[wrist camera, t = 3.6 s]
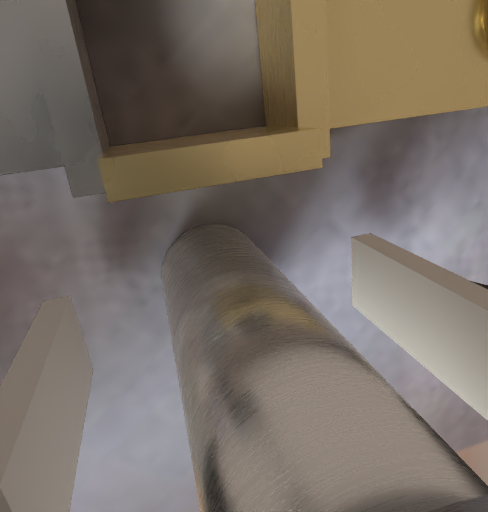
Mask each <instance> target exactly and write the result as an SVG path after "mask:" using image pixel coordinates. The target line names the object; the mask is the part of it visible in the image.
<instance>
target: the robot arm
mask: <svg viewBox="0 0 488 512" xmlns="http://www.w3.org/2000/svg"><path fill="white" fill-rule="evenodd" d="M351 242H352V305H353V306H354V307H355V308H356V309H357V310H358V311H360V312H361V313H362V314H363V315H364V316H365V317H367V318H368V319H369V320H370V321H371V322H373V323H374V324H375V325H376V326H377V327H378V328H380V329H381V330H382V331H383V332H384V333H385V334H387V335H388V336H389V337H390V338H391V339H392V340H394V341H395V342H396V343H397V344H398V345H400V346H401V347H402V348H403V349H404V350H405V351H407V352H408V353H409V354H410V355H411V356H412V357H414V358H415V359H416V360H417V361H418V362H419V363H421V364H422V365H423V366H424V367H425V368H426V369H428V370H429V371H430V372H431V373H432V374H434V375H435V376H436V377H437V378H438V379H439V380H441V381H442V382H443V383H444V384H445V385H446V386H448V387H449V388H450V389H451V390H452V391H453V392H455V393H456V394H457V395H458V396H459V397H461V398H462V399H463V400H464V401H465V402H466V403H468V404H469V405H470V406H471V407H472V408H473V409H475V410H476V411H477V412H478V413H479V414H480V415H482V416H483V417H484V418H485V419H486V420H488V285H484V284H480V283H476V282H472V281H469V280H467V279H465V278H463V277H461V276H459V275H457V274H455V273H452V272H450V271H448V270H446V269H444V268H442V267H440V266H438V265H436V264H434V263H432V262H430V261H427V260H425V259H423V258H421V257H419V256H417V255H415V254H413V253H411V252H409V251H407V250H405V249H402V248H400V247H398V246H396V245H394V244H392V243H390V242H388V241H386V240H384V239H382V238H380V237H377V236H375V235H373V234H371V233H369V234H364V235H360V236H355V237H351ZM92 373H93V367H92V364H91V361H90V358H89V355H88V352H87V348H86V345H85V342H84V339H83V336H82V332H81V329H80V326H79V323H78V320H77V317H76V313H75V310H74V307H73V304H72V301H71V297H70V296H66V297H61V298H56V299H51V300H47V301H43V302H42V304H41V306H40V308H39V310H38V312H37V314H36V316H35V318H34V320H33V322H32V324H31V326H30V328H29V330H28V332H27V334H26V336H25V338H24V340H23V342H22V344H21V346H20V348H19V350H18V352H17V354H16V356H15V358H14V360H13V362H12V364H11V366H10V368H9V370H8V372H7V374H6V376H5V377H4V379H3V381H2V383H1V385H0V512H69V511H70V505H71V499H72V493H73V487H74V481H75V475H76V469H77V463H78V457H79V451H80V445H81V439H82V433H83V427H84V421H85V415H86V409H87V403H88V397H89V391H90V385H91V379H92Z"/></svg>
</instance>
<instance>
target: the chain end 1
mask: <svg viewBox="0 0 488 512" xmlns="http://www.w3.org/2000/svg"><path fill="white" fill-rule="evenodd" d="M109 147H110V146H109V142H108V138H107V133H106V129H105V125H104V120H103V116H102V112H101V108H100V103H99V99H98V95H97V91H96V86H95V82H94V78H93V73H92V69H91V65H90V61H89V56H88V52H87V48H86V44H85V39H84V35H83V31H82V27H81V22H80V18H79V14H78V9H77V5H76V1H75V0H0V175H6V174H13V173H20V172H27V171H34V170H41V169H48V168H55V167H62V166H64V167H65V171H66V174H67V178H68V181H69V185H70V188H71V192H72V196H73V198H75V197H82V196H88V195H94V194H101V193H106V191H105V187H104V183H103V179H102V175H101V171H100V167H99V163H98V159H99V158H100V156H101V155H102V154H103V153H104V152H105V151H106V150H107V149H108V148H109Z"/></svg>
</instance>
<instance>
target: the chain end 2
mask: <svg viewBox="0 0 488 512" xmlns="http://www.w3.org/2000/svg"><path fill="white" fill-rule="evenodd" d="M255 7H256V18H257V29H258V41H259V52H260V64H261V75H262V86H263V98H264V109H265V121H266V126H260V127H253V128H245V129H238V130H230V131H223V132H215V133H208V134H201V135H193V136H186V137H178V138H171V139H163V140H156V141H149V142H141V143H134V144H126V145H119V146H111V147H109V148H108V149H107V150H106V151H105V152H104V153H103V154H102V155H101V156H100V158H99V159H98V163H99V167H100V171H101V175H102V179H103V183H104V187H105V191H106V195H107V199H108V203H109V202H116V201H122V200H128V199H134V198H140V197H146V196H152V195H158V194H165V193H171V192H177V191H183V190H189V189H195V188H201V187H207V186H213V185H220V184H226V183H232V182H238V181H244V180H250V179H256V178H262V177H269V176H275V175H281V174H287V173H293V172H299V171H305V170H311V169H317V168H323V164H322V158H329V157H331V154H330V129H331V128H338V127H346V126H353V125H360V124H367V123H374V122H381V121H388V120H395V119H402V118H409V117H416V116H423V115H431V114H438V113H445V112H452V111H459V110H466V109H473V108H480V107H487V106H488V0H255Z"/></svg>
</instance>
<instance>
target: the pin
mask: <svg viewBox="0 0 488 512" xmlns="http://www.w3.org/2000/svg"><path fill="white" fill-rule="evenodd" d="M161 278H162V285H163V291H164V297H165V303H166V309H167V315H168V321H169V327H170V333H171V339H172V345H173V351H174V357H175V363H176V368H177V374H178V380H179V386H180V392H181V398H182V404H183V410H184V416H185V422H186V428H187V434H188V440H189V446H190V452H191V458H192V464H193V470H194V476H195V482H196V488H197V494H198V500H199V506H200V512H488V486H487V485H486V484H485V483H484V482H483V481H482V480H481V478H480V477H479V476H478V475H477V474H476V473H475V472H474V471H473V470H472V469H471V468H470V467H469V466H468V465H467V464H466V463H465V462H464V461H463V460H462V459H461V458H460V457H459V456H458V455H457V454H456V453H455V452H454V450H453V449H452V448H451V447H450V446H449V445H448V444H447V443H446V442H445V441H444V440H443V439H442V438H441V437H440V436H439V435H438V434H437V433H436V432H435V431H434V430H433V429H432V428H431V427H430V426H429V425H428V423H427V422H426V421H425V420H424V419H423V418H422V417H421V416H420V415H419V414H418V413H417V412H416V411H415V410H414V409H413V408H412V407H411V406H410V405H409V404H408V403H407V402H406V401H405V400H404V399H403V398H402V396H401V395H400V394H399V393H398V392H397V391H396V390H395V389H394V388H393V387H392V386H391V385H390V384H389V383H388V382H387V381H386V380H385V379H384V378H383V377H382V376H381V375H380V374H379V373H378V372H377V371H376V370H375V368H374V367H373V366H372V365H371V364H370V363H369V362H368V361H367V360H366V359H365V358H364V357H363V356H362V355H361V354H360V353H359V352H358V351H357V350H356V349H355V348H354V347H353V346H352V345H351V344H350V343H349V341H348V340H347V339H346V338H345V337H344V336H343V335H342V334H341V333H340V332H339V331H338V330H337V329H336V328H335V327H334V326H333V325H332V324H331V323H330V322H329V321H328V320H327V319H326V318H325V317H324V316H323V314H322V313H321V312H320V311H319V310H318V309H317V308H316V307H315V306H314V305H313V304H312V303H311V302H310V301H309V300H308V299H307V298H306V297H305V296H304V295H303V294H302V293H301V292H300V291H299V290H298V289H297V288H296V286H295V285H294V284H293V283H292V282H291V281H290V280H289V279H288V278H287V277H286V276H285V275H284V274H283V273H282V272H281V271H280V270H279V269H278V268H277V267H276V266H275V265H274V264H273V263H272V262H271V261H270V259H269V258H268V257H267V256H266V255H265V254H264V253H263V252H262V251H261V250H260V249H259V248H258V247H257V246H256V245H255V244H254V243H253V242H252V241H251V240H250V239H249V238H248V237H247V236H246V235H245V234H244V233H242V232H241V231H239V230H238V229H235V228H233V227H230V226H227V225H222V224H208V225H202V226H198V227H196V228H193V229H191V230H189V231H187V232H186V233H184V234H183V235H181V236H180V237H179V238H178V239H177V240H176V241H175V242H174V243H173V244H172V245H171V247H170V248H169V250H168V251H167V253H166V256H165V258H164V261H163V264H162V271H161Z"/></svg>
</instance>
